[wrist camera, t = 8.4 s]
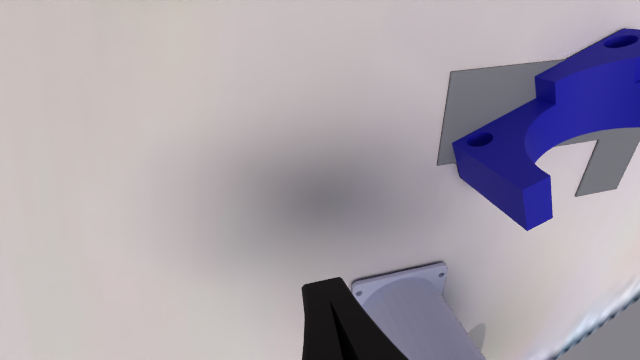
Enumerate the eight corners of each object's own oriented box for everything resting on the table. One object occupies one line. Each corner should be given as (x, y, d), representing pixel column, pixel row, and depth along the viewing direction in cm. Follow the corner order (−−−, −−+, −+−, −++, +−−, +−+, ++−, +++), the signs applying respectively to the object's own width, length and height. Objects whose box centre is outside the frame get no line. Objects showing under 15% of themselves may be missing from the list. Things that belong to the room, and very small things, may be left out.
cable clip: (623, 28, 20) (760, 39, 15) (618, 93, 22) (734, 123, 17) (446, 123, 20) (519, 166, 15) (460, 177, 22) (527, 230, 17)
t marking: (615, 188, 27) (616, 188, 27) (428, 224, 24) (428, 225, 24) (727, -46, 19) (729, -46, 19) (466, -34, 16) (467, -34, 16)
